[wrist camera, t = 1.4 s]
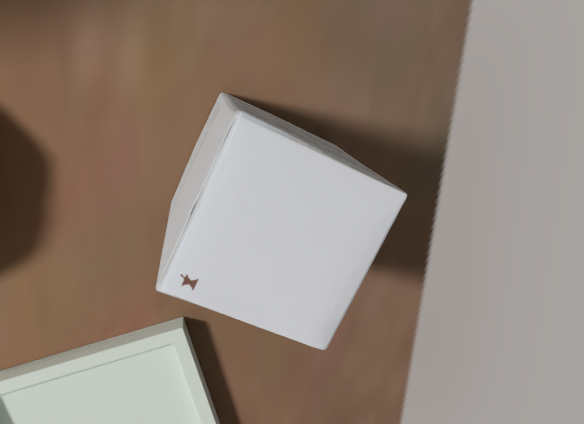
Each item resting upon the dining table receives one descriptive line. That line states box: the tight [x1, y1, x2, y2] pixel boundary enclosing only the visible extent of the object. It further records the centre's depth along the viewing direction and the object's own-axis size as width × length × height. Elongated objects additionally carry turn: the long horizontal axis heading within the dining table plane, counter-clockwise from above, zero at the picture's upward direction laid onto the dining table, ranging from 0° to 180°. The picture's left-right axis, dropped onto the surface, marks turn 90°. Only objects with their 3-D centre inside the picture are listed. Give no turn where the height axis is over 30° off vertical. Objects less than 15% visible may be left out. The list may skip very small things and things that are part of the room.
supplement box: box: [156, 93, 407, 350], centre depth 26 cm, size 7×7×13 cm
